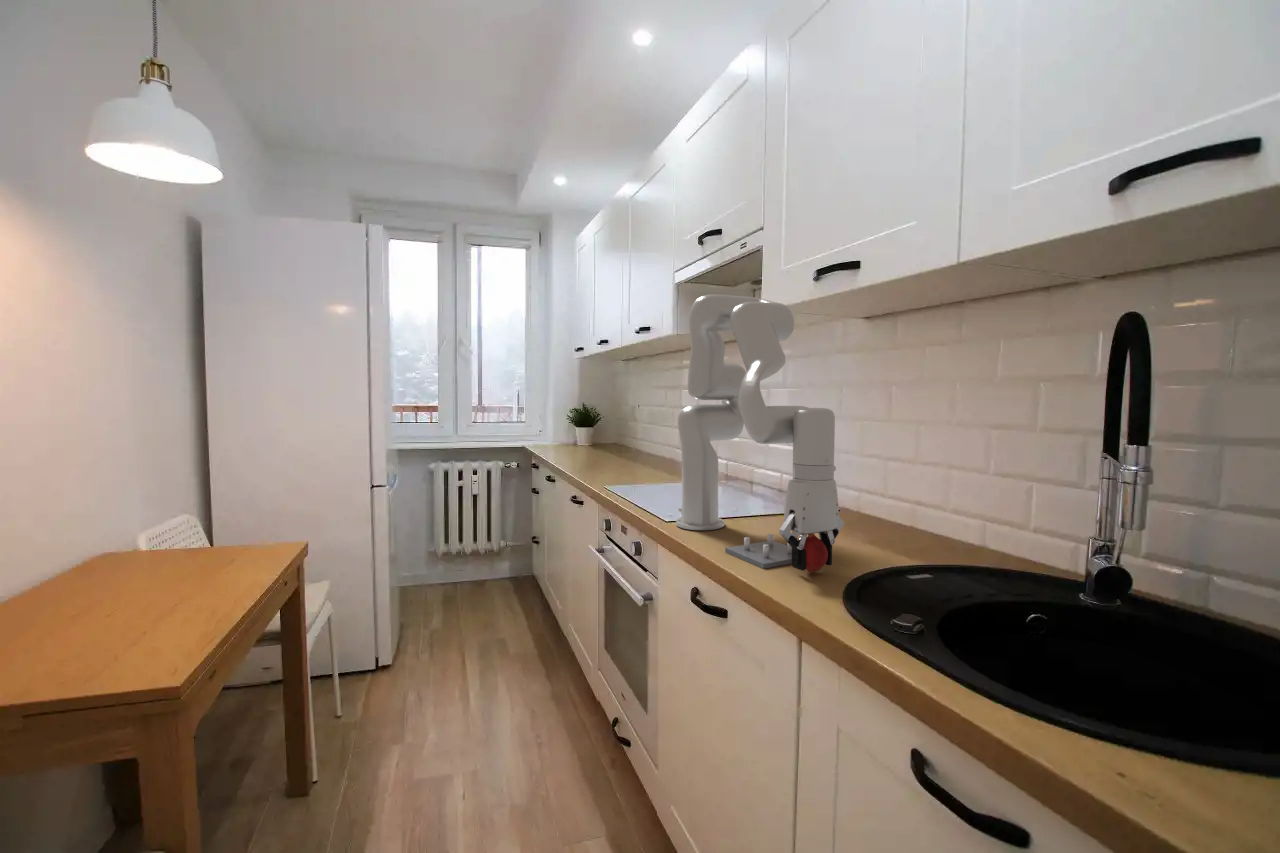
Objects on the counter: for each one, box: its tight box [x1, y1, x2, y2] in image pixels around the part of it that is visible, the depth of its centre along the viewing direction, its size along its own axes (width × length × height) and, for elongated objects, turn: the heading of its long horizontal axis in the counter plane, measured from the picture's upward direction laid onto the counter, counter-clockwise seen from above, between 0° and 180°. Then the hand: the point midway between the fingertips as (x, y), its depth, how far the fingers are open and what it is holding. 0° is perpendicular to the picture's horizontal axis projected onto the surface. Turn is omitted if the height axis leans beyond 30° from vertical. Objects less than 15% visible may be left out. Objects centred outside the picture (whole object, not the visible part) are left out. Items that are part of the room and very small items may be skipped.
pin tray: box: [724, 533, 792, 570], centre depth 120 cm, size 13×13×4 cm
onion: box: [803, 533, 828, 574], centre depth 108 cm, size 6×6×8 cm
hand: (811, 565), depth 108 cm, fingers closed on onion, 5 cm apart
